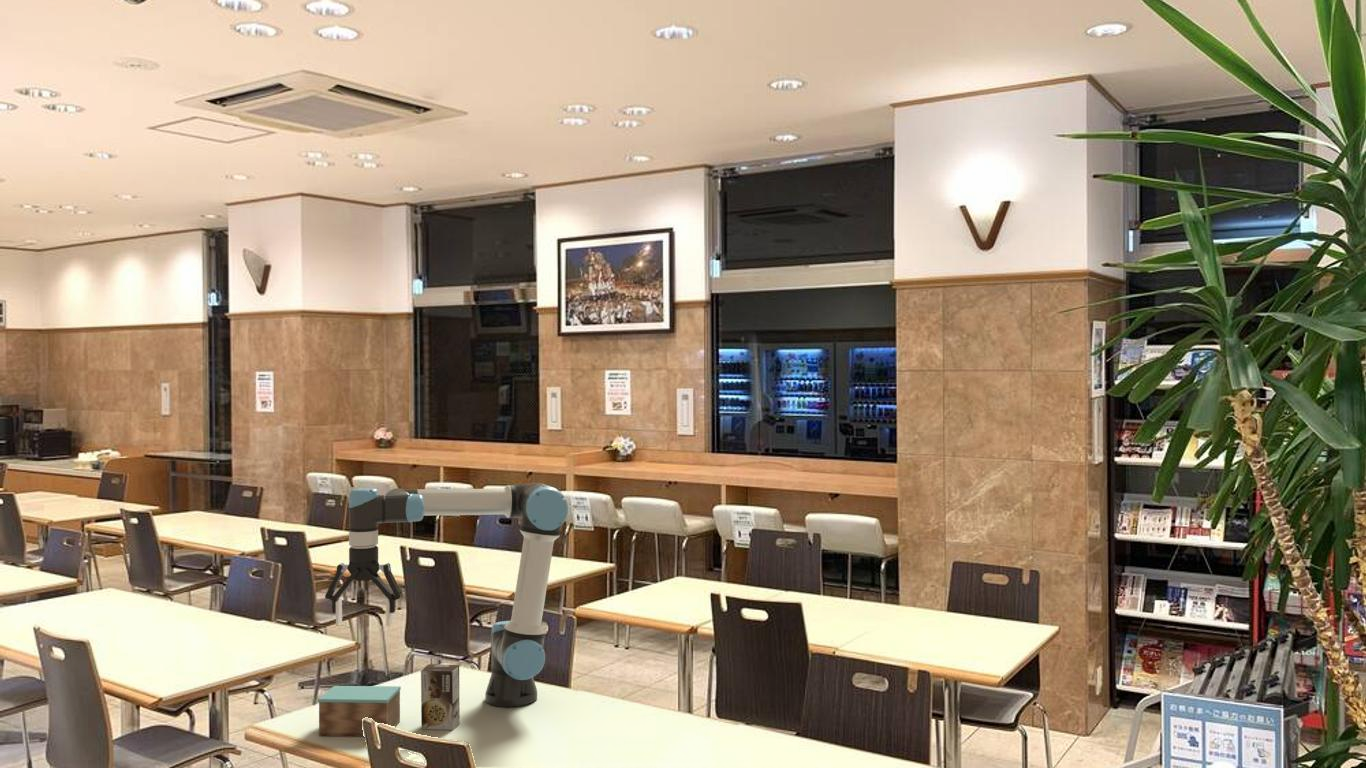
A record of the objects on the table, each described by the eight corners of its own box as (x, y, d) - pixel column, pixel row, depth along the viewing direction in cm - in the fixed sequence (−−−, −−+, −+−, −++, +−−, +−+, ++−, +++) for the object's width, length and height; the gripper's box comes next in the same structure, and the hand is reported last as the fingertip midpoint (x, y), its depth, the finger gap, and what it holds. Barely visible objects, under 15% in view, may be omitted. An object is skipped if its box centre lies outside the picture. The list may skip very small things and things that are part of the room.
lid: (400, 689, 289) (400, 686, 289) (387, 702, 276) (387, 699, 276) (334, 688, 289) (334, 685, 289) (317, 702, 277) (317, 699, 277)
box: (399, 721, 289) (399, 689, 289) (386, 736, 277) (386, 702, 277) (334, 721, 289) (335, 688, 289) (319, 736, 277) (319, 702, 277)
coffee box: (460, 722, 288) (460, 664, 288) (453, 730, 282) (453, 670, 282) (428, 721, 289) (428, 663, 289) (420, 729, 283) (420, 669, 283)
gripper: (413, 543, 285) (414, 621, 286) (322, 543, 286) (323, 621, 286) (405, 548, 278) (406, 628, 278) (312, 548, 278) (312, 628, 279)
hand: (364, 625), depth 282 cm, fingers open, 13 cm apart
